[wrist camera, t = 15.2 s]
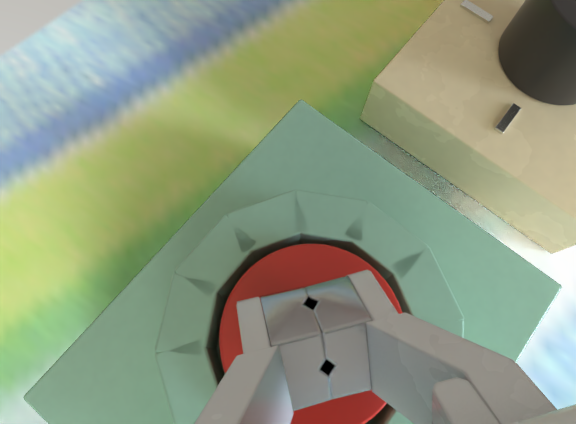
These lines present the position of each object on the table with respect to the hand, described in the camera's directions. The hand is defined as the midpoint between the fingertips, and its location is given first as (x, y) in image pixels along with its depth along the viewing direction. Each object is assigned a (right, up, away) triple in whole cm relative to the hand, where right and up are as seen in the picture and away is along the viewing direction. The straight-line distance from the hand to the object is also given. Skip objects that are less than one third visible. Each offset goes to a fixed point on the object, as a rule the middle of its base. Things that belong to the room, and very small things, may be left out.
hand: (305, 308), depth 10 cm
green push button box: (0, -3, +7) cm, 8 cm away
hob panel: (+10, +7, +11) cm, 17 cm away
